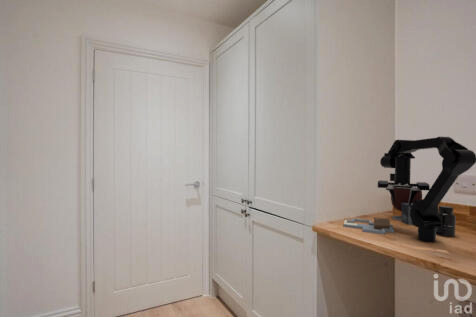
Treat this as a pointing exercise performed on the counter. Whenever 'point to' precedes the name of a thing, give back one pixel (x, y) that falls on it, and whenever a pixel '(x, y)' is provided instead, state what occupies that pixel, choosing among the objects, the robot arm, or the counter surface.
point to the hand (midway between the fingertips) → (401, 205)
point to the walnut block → (381, 223)
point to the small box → (406, 213)
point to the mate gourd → (403, 198)
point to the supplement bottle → (446, 221)
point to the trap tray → (366, 226)
